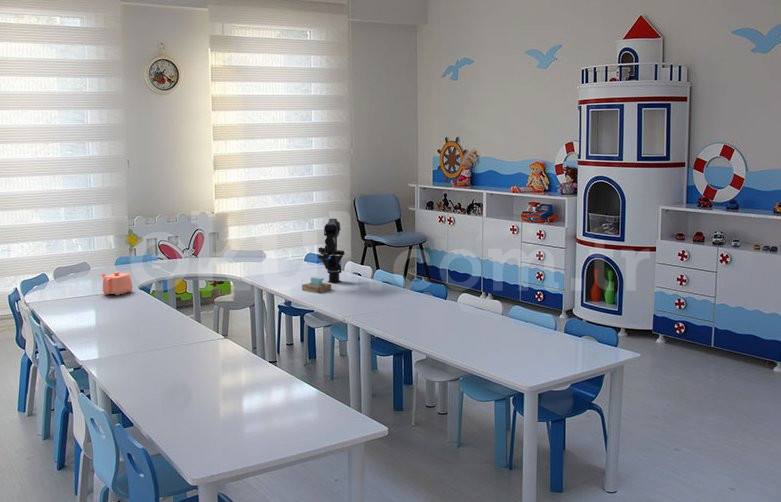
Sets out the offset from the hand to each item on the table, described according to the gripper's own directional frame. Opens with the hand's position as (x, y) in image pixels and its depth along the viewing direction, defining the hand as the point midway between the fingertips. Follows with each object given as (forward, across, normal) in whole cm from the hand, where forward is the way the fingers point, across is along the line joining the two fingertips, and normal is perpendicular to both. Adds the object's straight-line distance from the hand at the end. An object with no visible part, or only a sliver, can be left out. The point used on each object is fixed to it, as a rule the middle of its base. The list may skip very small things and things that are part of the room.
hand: (331, 267), depth 491 cm
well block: (+12, +12, -2) cm, 17 cm away
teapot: (+13, +94, -101) cm, 138 cm away
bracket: (+13, +12, -2) cm, 18 cm away
